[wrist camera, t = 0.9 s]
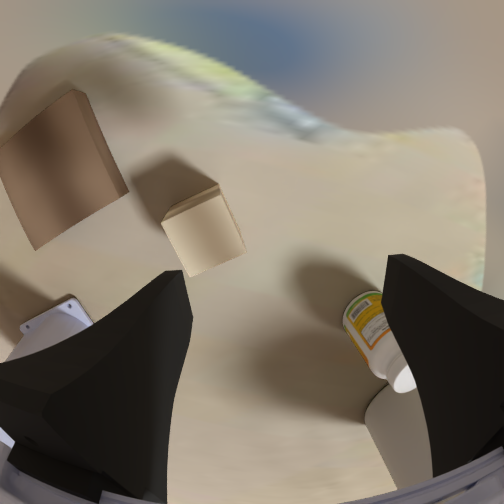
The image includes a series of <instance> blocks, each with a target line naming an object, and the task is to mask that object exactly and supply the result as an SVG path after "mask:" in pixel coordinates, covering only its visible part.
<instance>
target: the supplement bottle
mask: <svg viewBox="0 0 504 504" xmlns="http://www.w3.org/2000/svg"><path fill="white" fill-rule="evenodd" d="M381 299H382V293H381V292H378V291H369V292H365V293H363V294H361V295H359V296H357V297H356V298H355V299H353V300H352V301H351V302H350V304H349V305H348V306H347V308H346V310H345V312H344V315H343V327H344V329H345V331H346V333H347V334H348V336H349V337H350V339H351V340H352V342H353V343H354V345H355V346H356V348H357V349H358V351H359V352H360V354H361V355H362V357H363V359H364V360H365V362H366V363H367V365H368V367H369V368H370V370H371V371H372V372H373V373H374V375H376V376H377V377H379V378H382V379H387V380H388V383H389V384H390V385H391V386H392V388H393V389H394V390H395V391H396V392H398V393H405V392H409V391H411V390H413V389H415V388H416V387H417V386H416V383H415V380H414V378H413V375H412V373H411V370H410V368H409V366H408V364H407V362H406V360H405V358H404V356H403V354H402V352H401V350H400V348H399V346H398V344H397V342H396V339H395V337H394V335H393V333H392V331H391V329H390V327H389V325H388V322H387V320H386V317H385V314H384V311H383V308H382V305H381Z"/></svg>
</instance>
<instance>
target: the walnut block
mask: <svg viewBox="0 0 504 504" xmlns="http://www.w3.org/2000/svg"><path fill="white" fill-rule="evenodd" d="M0 177H1V180H2V182H3V185H4V187H5V190H6V192H7V194H8V197H9V199H10V201H11V204H12V206H13V208H14V210H15V212H16V215H17V217H18V219H19V221H20V223H21V225H22V227H23V229H24V231H25V233H26V235H27V237H28V239H29V241H30V243H31V245H32V246H33V248H34V250H35V251H36V250H37V249H39V248H40V247H42V246H43V245H45V244H46V243H47V242H49V241H50V240H52V239H53V238H55V237H56V236H58V235H60V234H61V233H63V232H64V231H66V230H67V229H69V228H70V227H72V226H73V225H75V224H77V223H78V222H80V221H82V220H83V219H85V218H86V217H88V216H90V215H91V214H93V213H95V212H96V211H98V210H100V209H101V208H103V207H105V206H107V205H108V204H110V203H112V202H113V201H115V200H117V199H119V198H120V197H122V196H124V195H125V194H127V193H128V192H129V190H128V188H127V186H126V184H125V182H124V180H123V178H122V175H121V173H120V171H119V169H118V167H117V165H116V163H115V161H114V158H113V156H112V154H111V152H110V150H109V147H108V145H107V143H106V141H105V138H104V136H103V134H102V131H101V129H100V127H99V124H98V122H97V120H96V117H95V115H94V112H93V110H92V108H91V105H90V103H89V100H88V98H87V95H86V94H85V93H82V92H79V91H76V90H73V89H72V90H71V91H69V92H68V93H66V94H65V95H63V96H62V97H61V98H59V99H58V100H57V101H55V102H54V103H53V104H51V105H50V106H49V107H47V108H46V109H45V110H43V111H42V112H41V113H40V114H38V115H37V116H36V117H35V118H34V119H32V120H31V121H30V122H29V123H28V124H26V125H25V126H24V127H23V128H22V129H21V130H19V131H18V132H17V133H16V134H15V135H14V136H13V137H12V138H11V139H10V140H8V141H7V142H6V143H5V144H4V145H3V146H2V147H1V148H0Z"/></svg>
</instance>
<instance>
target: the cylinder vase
mask: <svg viewBox="0 0 504 504" xmlns="http://www.w3.org/2000/svg"><path fill="white" fill-rule="evenodd" d="M365 424H366V426H367V428H368V430H369V432H370V434H371V436H372V438H373V440H374V442H375V444H376V446H377V448H378V450H379V452H380V454H381V456H382V458H383V460H384V462H385V464H386V466H387V469H388V471H389V473H390V475H391V477H392V479H393V481H394V483H395V485H396V487H397V489H398V490H399V489H403V488H406V487H409V486H412V485H415V484H418V483H421V482H424V481H427V480H429V479H432V478H433V473H432V459H431V449H430V442H429V436H428V430H427V425H426V420H425V416H424V412H423V407H422V403H421V400H420V396H419V393H418V390H417V387H416V388H415V389H413V390H411V391H409V392H405V393H398V392H396V391H395V390H394V389H393V388H392V386H391V385H390V384H389V385H387V386H386V387H385V388H384V389H383V390H381V391H380V392H379V393H378V394H377V396H376V397H375V398H374V399H373V400H372V402H371V403H370V405H369V406H368V408H367V410H366V413H365ZM465 491H466V490H465ZM465 491H463V492H461V493H459V494H457V495H454V496H452V497H450V498H448V499H445V500H443V501H441V502H438V503H436V504H443V503H445V502H447V501H449V500H451V499H453V498H455V497H457V496H458V495H460V494H462V493H464V492H465Z"/></svg>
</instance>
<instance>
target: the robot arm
mask: <svg viewBox="0 0 504 504" xmlns="http://www.w3.org/2000/svg"><path fill="white" fill-rule="evenodd" d="M69 304H71V306H70V305H69ZM381 305H382V308H383V311H384V314H385V317H386V320H387V322H388V325H389V327H390V329H391V331H392V333H393V335H394V337H395V339H396V342H397V344H398V346H399V348H400V350H401V352H402V354H403V356H404V358H405V360H406V362H407V364H408V366H409V368H410V370H411V373H412V375H413V378H414V380H415V383H416V386H417V390H418V393H419V396H420V400H421V403H422V407H423V412H424V416H425V420H426V425H427V430H428V436H429V442H430V449H431V459H432V473H433V478H432V479H429V480H427V481H424V482H421V483H418V484H415V485H412V486H409V487H406V488H403V489H399V490H396V491H392V492H389V493H385V494H381V495H377V496H373V497H369V498H365V499H360V500H355V501H350V502H345V503H339V504H436V503H438V502H441V501H443V500H445V499H448V498H450V497H452V496H454V495H457V494H459V493H461V492H463V491H465V490H466V491H465V492H464V493H462V494H460V495H458V496H457V497H455V498H453V499H451V500H449V501H447V502H445V503H443V504H504V300H501V299H499V298H495V297H493V296H491V295H488V294H486V293H483V292H481V291H479V290H476V289H474V288H472V287H470V286H468V285H466V284H464V283H462V282H459V281H457V280H455V279H454V278H452V277H450V276H448V275H446V274H444V273H442V272H440V271H438V270H436V269H434V268H432V267H431V266H429V265H427V264H425V263H423V262H421V261H419V260H417V259H415V258H412V257H410V256H408V255H405V254H396V255H388V261H387V268H386V275H385V281H384V287H383V293H382V299H381ZM192 322H193V315H192V311H191V306H190V302H189V298H188V294H187V290H186V285H185V281H184V276H183V272H182V270H173V271H165V272H163V273H162V274H160V275H159V276H157V277H156V278H155V279H153V280H152V281H151V282H150V283H148V284H147V285H146V286H145V287H143V288H142V289H141V290H140V291H138V292H137V293H136V294H135V295H133V296H132V297H131V298H129V299H128V300H127V301H125V302H124V303H123V304H121V305H120V306H119V307H117V308H116V309H115V310H113V311H112V312H111V313H109V314H108V315H106V316H105V317H103V318H102V319H100V320H99V321H97V322H96V323H93V322H92V321H91V319H90V318H89V316H88V315H87V313H86V312H85V311H84V309H83V308H82V306H81V305H80V303H79V302H78V300H77V299H75V298H70V299H68V300H67V301H65V302H63V303H61V304H59V305H57V306H55V307H53V308H51V309H49V310H47V311H46V312H44V313H42V314H40V315H38V316H36V317H34V318H32V319H31V320H29V321H27V322H25V323H23V324H22V325H21V326H20V330H21V332H22V333H23V334H24V336H23V337H22V338H21V340H20V341H19V342H18V344H17V345H16V347H15V348H14V349H13V351H12V352H11V354H10V355H9V356H8V358H7V359H6V361H5V362H3V363H0V504H167V461H168V445H169V434H170V424H171V417H172V409H173V402H174V397H175V393H176V389H177V385H178V382H179V378H180V374H181V371H182V367H183V364H184V360H185V357H186V353H187V350H188V346H189V342H190V337H191V330H192Z"/></svg>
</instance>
